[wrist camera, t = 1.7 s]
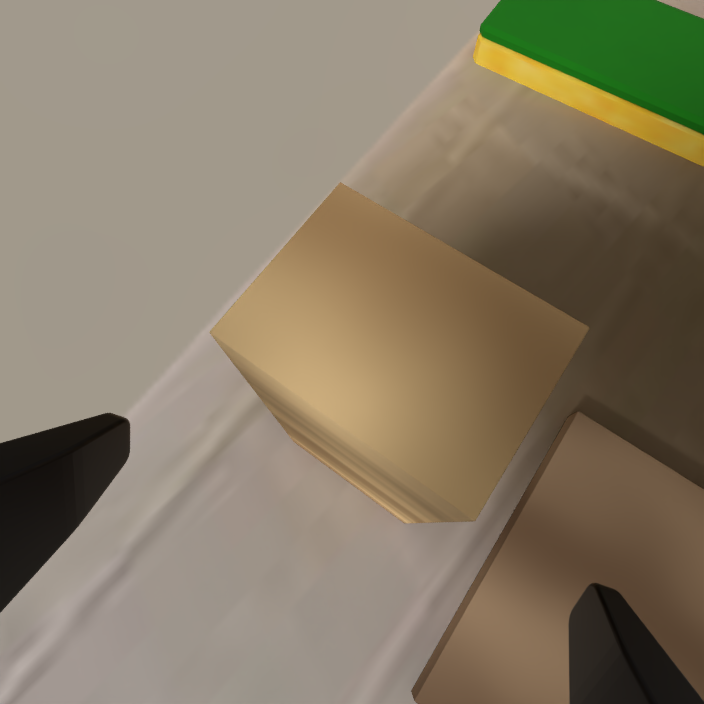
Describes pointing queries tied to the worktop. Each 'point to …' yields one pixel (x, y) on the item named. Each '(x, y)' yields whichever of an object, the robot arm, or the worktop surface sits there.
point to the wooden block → (397, 358)
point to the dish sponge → (607, 63)
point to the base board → (576, 573)
